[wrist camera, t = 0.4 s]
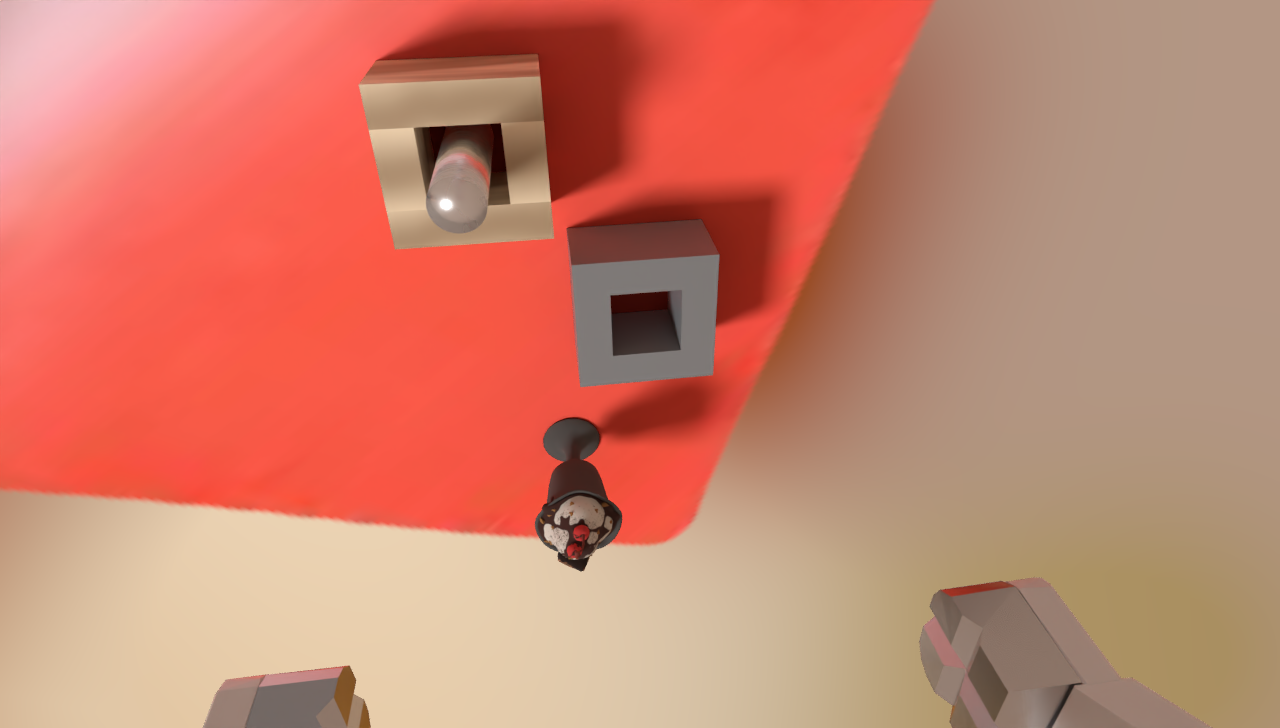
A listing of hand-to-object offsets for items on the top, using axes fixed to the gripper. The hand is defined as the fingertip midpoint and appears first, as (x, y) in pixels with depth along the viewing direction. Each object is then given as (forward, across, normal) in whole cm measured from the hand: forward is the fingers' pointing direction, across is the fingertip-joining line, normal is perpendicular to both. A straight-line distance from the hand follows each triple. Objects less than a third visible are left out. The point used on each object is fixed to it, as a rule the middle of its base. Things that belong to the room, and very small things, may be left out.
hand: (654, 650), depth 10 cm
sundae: (+44, +1, +33) cm, 55 cm away
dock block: (+44, -5, +18) cm, 48 cm away
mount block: (+44, +6, +6) cm, 45 cm away
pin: (+44, +6, +6) cm, 45 cm away
